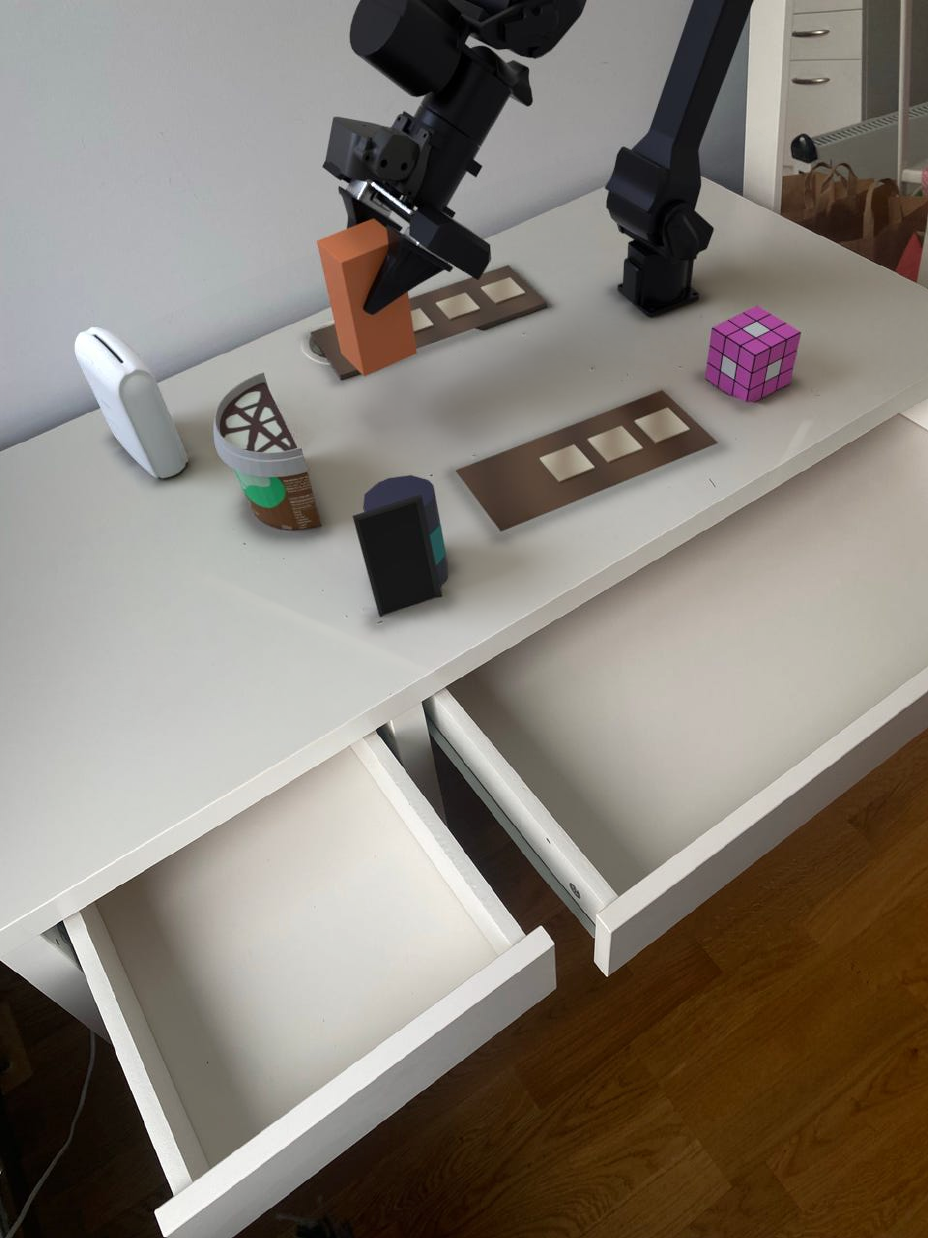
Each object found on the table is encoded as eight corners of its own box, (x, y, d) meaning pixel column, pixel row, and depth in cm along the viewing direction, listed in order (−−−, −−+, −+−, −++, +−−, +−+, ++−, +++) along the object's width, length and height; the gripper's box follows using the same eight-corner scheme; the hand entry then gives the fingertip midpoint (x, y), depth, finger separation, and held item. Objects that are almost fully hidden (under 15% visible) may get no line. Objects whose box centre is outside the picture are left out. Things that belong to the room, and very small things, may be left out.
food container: (225, 478, 88) (192, 390, 80) (287, 457, 89) (261, 368, 81) (259, 564, 80) (227, 476, 73) (327, 540, 82) (303, 451, 74)
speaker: (450, 616, 75) (429, 514, 67) (379, 623, 75) (351, 522, 68) (453, 553, 80) (434, 453, 73) (386, 560, 81) (360, 460, 73)
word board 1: (508, 269, 107) (508, 262, 106) (547, 307, 101) (547, 300, 101) (311, 336, 101) (309, 330, 101) (340, 380, 96) (339, 373, 95)
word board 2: (661, 394, 90) (662, 387, 90) (717, 447, 85) (718, 440, 84) (455, 474, 86) (455, 468, 85) (500, 536, 80) (500, 529, 80)
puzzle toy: (745, 407, 88) (755, 355, 84) (704, 378, 91) (711, 326, 87) (790, 383, 90) (802, 331, 85) (748, 355, 93) (757, 304, 89)
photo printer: (109, 436, 93) (57, 328, 84) (147, 416, 95) (100, 308, 85) (156, 487, 88) (106, 377, 78) (196, 465, 89) (152, 355, 80)
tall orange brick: (392, 330, 88) (373, 217, 79) (417, 353, 85) (400, 238, 77) (341, 353, 86) (316, 240, 78) (364, 376, 84) (341, 262, 75)
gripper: (320, 36, 75) (232, 217, 80) (443, 111, 64) (331, 314, 69) (418, 109, 83) (332, 269, 88) (540, 186, 72) (434, 362, 78)
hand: (354, 299), depth 81 cm, fingers closed on tall orange brick, 4 cm apart
